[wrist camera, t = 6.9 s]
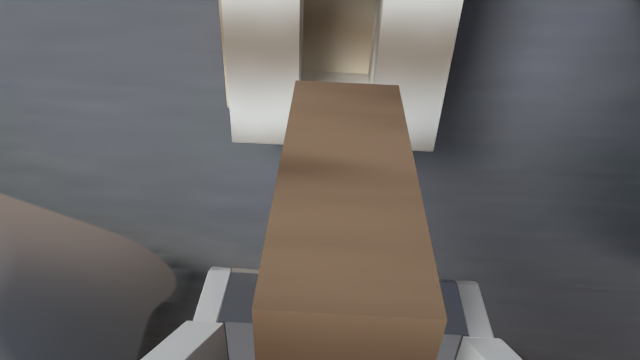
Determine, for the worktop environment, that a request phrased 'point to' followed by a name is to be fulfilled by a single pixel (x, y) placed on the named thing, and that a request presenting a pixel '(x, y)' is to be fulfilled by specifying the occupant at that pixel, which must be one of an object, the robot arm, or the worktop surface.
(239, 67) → the board
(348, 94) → the plug
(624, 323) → the worktop surface
